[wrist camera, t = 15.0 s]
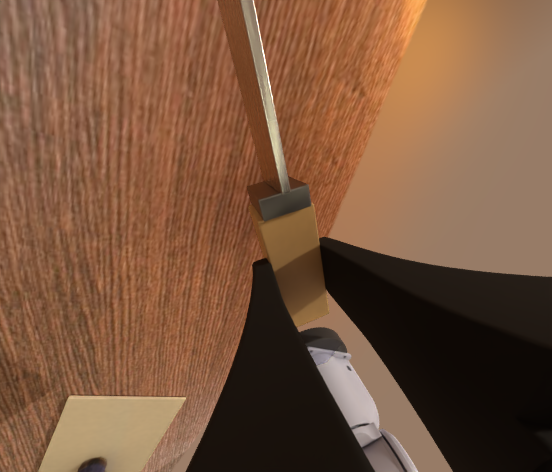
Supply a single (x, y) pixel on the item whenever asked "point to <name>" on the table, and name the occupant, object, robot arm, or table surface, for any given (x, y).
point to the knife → (275, 177)
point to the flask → (93, 465)
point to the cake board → (109, 431)
